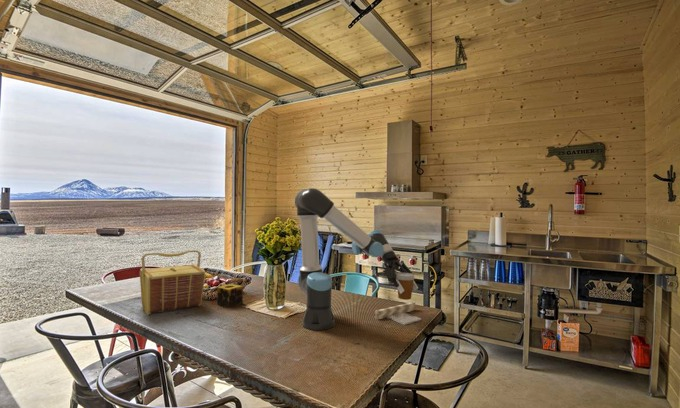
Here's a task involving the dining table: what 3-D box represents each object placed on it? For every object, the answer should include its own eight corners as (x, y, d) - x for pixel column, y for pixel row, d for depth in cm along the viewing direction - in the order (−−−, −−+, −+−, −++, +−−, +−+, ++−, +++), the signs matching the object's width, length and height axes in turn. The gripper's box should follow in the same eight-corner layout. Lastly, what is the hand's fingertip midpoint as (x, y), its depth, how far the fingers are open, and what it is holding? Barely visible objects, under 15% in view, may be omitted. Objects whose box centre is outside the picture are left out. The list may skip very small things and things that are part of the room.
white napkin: (404, 325, 155) (404, 323, 155) (386, 317, 164) (386, 315, 164) (421, 320, 162) (421, 318, 162) (403, 313, 171) (403, 311, 171)
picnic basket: (144, 319, 156) (145, 256, 156) (136, 305, 176) (137, 250, 176) (206, 308, 175) (208, 252, 175) (193, 297, 195) (194, 247, 195)
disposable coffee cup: (416, 301, 158) (416, 276, 158) (396, 300, 159) (396, 276, 159) (412, 295, 168) (412, 272, 168) (393, 295, 168) (394, 272, 168)
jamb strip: (377, 319, 161) (377, 311, 161) (374, 318, 163) (374, 310, 163) (415, 310, 178) (415, 302, 178) (412, 309, 179) (412, 301, 179)
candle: (243, 303, 184) (243, 285, 184) (228, 308, 176) (228, 289, 176) (231, 300, 190) (231, 283, 190) (216, 304, 181) (216, 286, 181)
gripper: (398, 257, 182) (419, 291, 169) (368, 260, 169) (389, 298, 156) (405, 248, 178) (428, 283, 165) (375, 251, 165) (397, 289, 152)
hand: (409, 290), depth 161 cm, fingers closed on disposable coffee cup, 9 cm apart
